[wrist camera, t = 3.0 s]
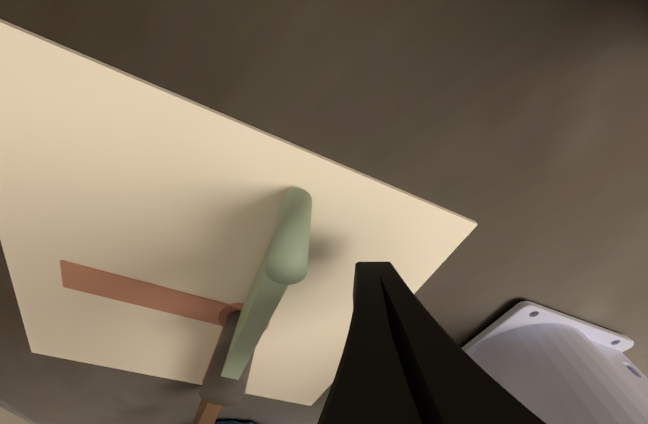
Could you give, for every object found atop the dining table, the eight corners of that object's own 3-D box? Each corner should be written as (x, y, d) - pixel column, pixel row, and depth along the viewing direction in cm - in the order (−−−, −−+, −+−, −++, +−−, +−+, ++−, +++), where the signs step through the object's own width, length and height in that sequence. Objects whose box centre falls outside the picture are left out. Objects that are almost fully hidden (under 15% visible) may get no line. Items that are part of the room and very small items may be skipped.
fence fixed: (265, 313, 15) (248, 390, 12) (226, 391, 20) (206, 460, 16) (231, 304, 15) (203, 381, 11) (200, 385, 19) (174, 456, 16)
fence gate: (316, 194, 10) (313, 261, 7) (259, 313, 14) (239, 393, 11) (289, 183, 10) (272, 248, 7) (238, 308, 14) (211, 388, 11)
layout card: (474, 220, 12) (478, 225, 12) (311, 401, 22) (310, 407, 21) (-56, -5, 8) (-74, -8, 7) (35, 348, 17) (30, 353, 17)
